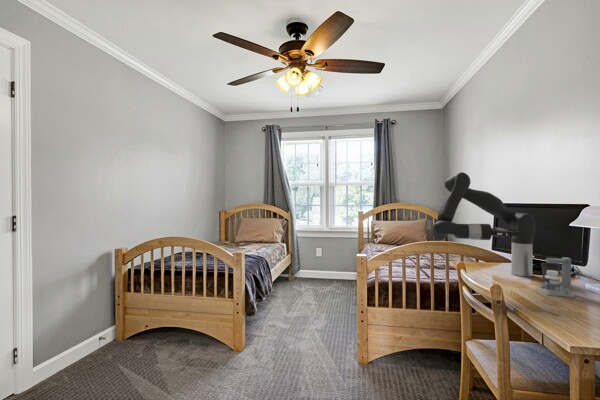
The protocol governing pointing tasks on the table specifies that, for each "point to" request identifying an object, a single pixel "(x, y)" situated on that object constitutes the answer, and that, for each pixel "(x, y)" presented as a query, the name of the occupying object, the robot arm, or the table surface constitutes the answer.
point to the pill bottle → (552, 281)
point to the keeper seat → (566, 278)
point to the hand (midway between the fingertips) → (518, 232)
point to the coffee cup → (549, 268)
